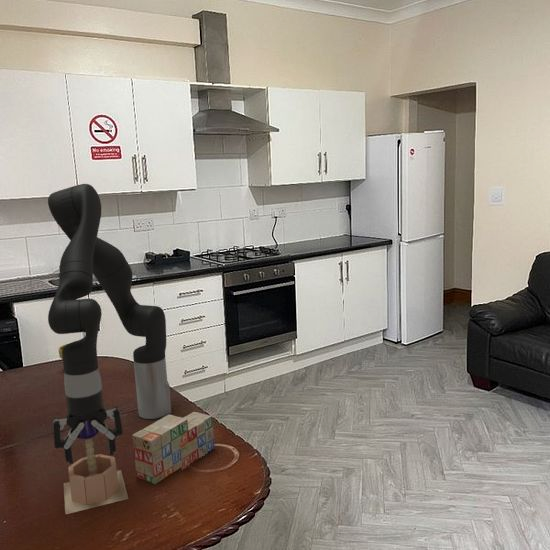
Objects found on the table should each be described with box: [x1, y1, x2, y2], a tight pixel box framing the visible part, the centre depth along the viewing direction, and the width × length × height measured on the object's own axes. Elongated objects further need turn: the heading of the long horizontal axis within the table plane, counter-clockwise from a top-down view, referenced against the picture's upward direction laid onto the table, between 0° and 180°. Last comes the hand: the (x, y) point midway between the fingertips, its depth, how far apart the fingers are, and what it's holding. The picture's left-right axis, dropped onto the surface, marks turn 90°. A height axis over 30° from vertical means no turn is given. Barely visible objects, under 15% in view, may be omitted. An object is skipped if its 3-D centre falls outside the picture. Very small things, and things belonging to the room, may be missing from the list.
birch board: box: [63, 469, 129, 515], centre depth 125 cm, size 13×13×1 cm
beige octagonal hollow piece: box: [67, 453, 119, 505], centre depth 124 cm, size 10×10×6 cm
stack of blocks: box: [132, 411, 215, 485], centre depth 136 cm, size 21×6×12 cm, turn 147°
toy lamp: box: [76, 420, 99, 476], centre depth 123 cm, size 5×5×17 cm
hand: (91, 457), depth 123 cm, fingers open, 8 cm apart
